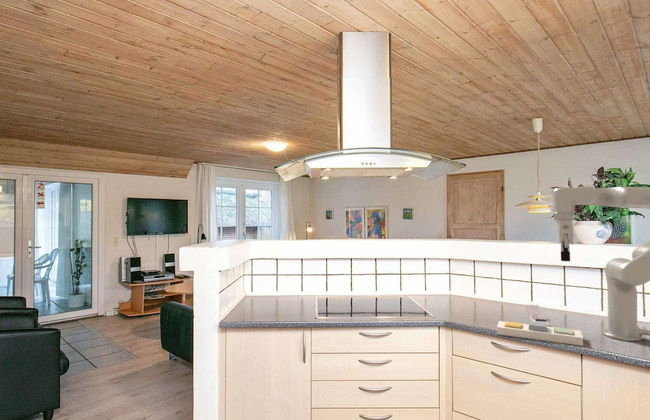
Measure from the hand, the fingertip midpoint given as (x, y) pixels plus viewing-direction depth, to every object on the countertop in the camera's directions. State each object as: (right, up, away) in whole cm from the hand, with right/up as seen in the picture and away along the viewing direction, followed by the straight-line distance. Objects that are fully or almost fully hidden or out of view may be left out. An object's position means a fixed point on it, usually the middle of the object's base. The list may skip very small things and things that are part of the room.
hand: (565, 260), depth 162 cm
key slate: (-13, -28, -3) cm, 31 cm away
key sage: (-6, -29, -8) cm, 31 cm away
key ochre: (-21, -29, +1) cm, 36 cm away
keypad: (-13, -30, -3) cm, 33 cm away
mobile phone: (-4, -31, +14) cm, 34 cm away
